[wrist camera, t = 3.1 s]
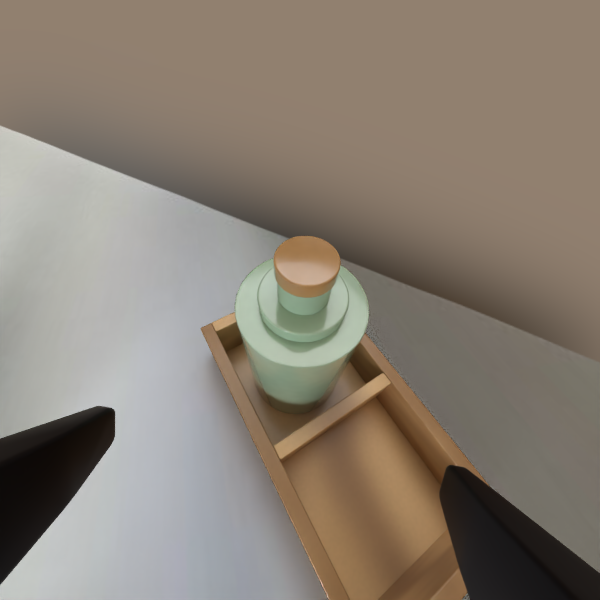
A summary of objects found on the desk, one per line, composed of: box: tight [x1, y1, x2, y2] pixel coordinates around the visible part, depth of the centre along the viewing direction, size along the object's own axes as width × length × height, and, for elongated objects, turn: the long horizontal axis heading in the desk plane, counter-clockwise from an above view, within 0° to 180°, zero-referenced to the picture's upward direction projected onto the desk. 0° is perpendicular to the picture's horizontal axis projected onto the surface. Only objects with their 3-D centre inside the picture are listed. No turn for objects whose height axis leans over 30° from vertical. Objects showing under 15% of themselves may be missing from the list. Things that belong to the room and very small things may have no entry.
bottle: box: [235, 236, 369, 414], centre depth 16 cm, size 6×6×13 cm
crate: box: [201, 312, 489, 600], centre depth 18 cm, size 10×18×4 cm, turn 32°
